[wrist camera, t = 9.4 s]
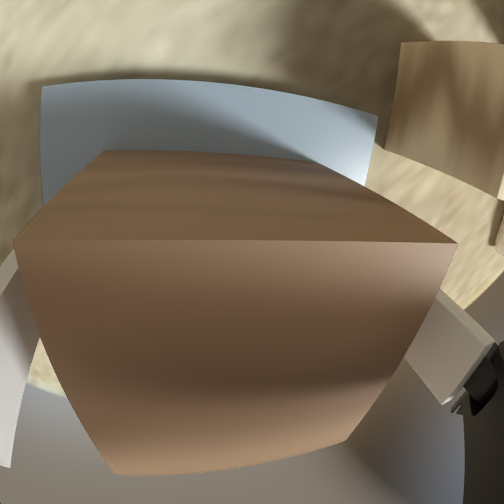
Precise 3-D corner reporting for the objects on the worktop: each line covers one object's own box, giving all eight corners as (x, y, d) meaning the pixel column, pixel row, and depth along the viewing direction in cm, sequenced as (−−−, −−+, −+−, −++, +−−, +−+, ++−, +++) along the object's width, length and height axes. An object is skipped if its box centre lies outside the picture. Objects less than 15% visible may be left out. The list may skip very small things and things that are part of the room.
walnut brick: (103, 150, 9) (12, 241, 3) (318, 162, 11) (458, 243, 5) (118, 331, 13) (115, 474, 7) (282, 323, 15) (345, 440, 9)
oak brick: (400, 42, 11) (518, 46, 5) (465, 81, 13) (559, 104, 7) (383, 149, 14) (497, 198, 8) (449, 168, 15) (538, 213, 9)
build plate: (55, 87, 8) (41, 86, 7) (359, 112, 12) (378, 115, 11) (84, 346, 14) (81, 365, 13) (303, 334, 18) (313, 350, 17)
